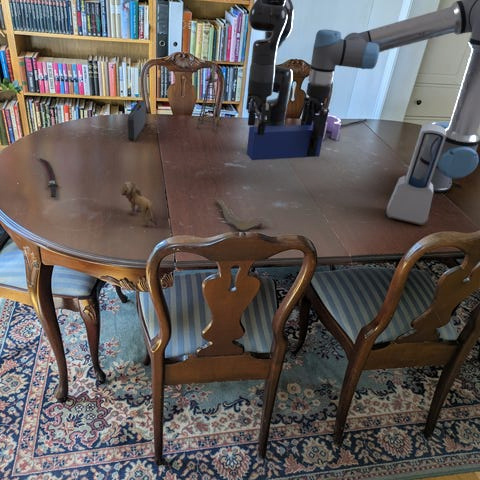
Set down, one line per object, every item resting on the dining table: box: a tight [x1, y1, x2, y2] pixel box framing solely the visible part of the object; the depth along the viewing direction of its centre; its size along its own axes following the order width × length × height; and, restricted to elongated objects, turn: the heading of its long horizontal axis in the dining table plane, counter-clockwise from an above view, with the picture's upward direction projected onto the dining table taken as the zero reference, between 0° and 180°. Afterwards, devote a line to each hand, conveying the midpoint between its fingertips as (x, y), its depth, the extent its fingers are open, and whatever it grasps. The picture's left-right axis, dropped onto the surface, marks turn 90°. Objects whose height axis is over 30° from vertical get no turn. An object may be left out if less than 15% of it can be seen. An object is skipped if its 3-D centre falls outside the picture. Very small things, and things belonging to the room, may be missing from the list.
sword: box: [40, 158, 59, 198], centre depth 151 cm, size 31×3×1 cm, turn 26°
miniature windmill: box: [196, 55, 220, 132], centre depth 197 cm, size 9×8×30 cm
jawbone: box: [216, 198, 270, 232], centre depth 140 cm, size 9×20×2 cm, turn 50°
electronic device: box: [386, 123, 446, 226], centre depth 142 cm, size 12×8×30 cm, turn 71°
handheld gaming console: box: [127, 99, 147, 141], centre depth 190 cm, size 23×3×10 cm, turn 178°
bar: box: [246, 124, 324, 161], centre depth 155 cm, size 25×5×10 cm, turn 109°
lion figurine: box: [119, 181, 159, 227], centre depth 134 cm, size 15×5×9 cm, turn 50°
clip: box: [312, 112, 342, 141], centre depth 212 cm, size 20×12×7 cm, turn 11°
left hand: (255, 130), depth 148 cm, fingers open, 8 cm apart
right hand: (307, 152), depth 160 cm, fingers closed on bar, 5 cm apart
